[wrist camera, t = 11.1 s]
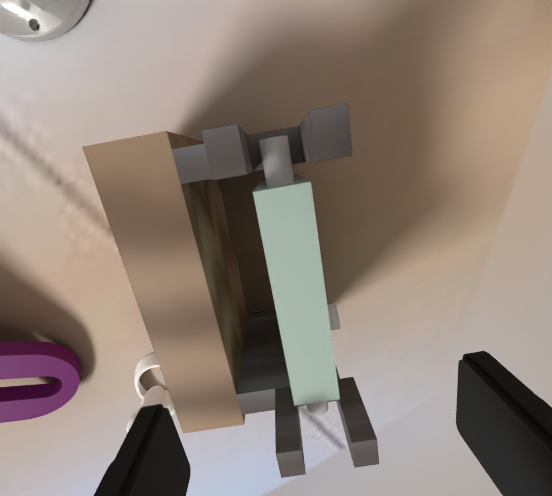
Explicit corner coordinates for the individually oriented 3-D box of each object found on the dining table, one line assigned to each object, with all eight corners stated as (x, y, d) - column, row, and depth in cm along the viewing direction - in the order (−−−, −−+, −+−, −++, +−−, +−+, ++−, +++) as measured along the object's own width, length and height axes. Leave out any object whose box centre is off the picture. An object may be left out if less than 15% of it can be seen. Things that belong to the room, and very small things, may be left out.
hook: (190, 348, 28) (192, 427, 26) (197, 346, 39) (198, 402, 37) (107, 358, 27) (102, 443, 24) (139, 353, 38) (137, 412, 36)
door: (255, 149, 23) (242, 140, 14) (305, 140, 23) (328, 124, 13) (291, 343, 29) (299, 434, 19) (332, 337, 28) (361, 425, 19)
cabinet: (160, 153, 28) (2, 140, 11) (301, 127, 27) (345, 75, 11) (212, 342, 34) (159, 506, 18) (327, 323, 34) (380, 475, 17)
